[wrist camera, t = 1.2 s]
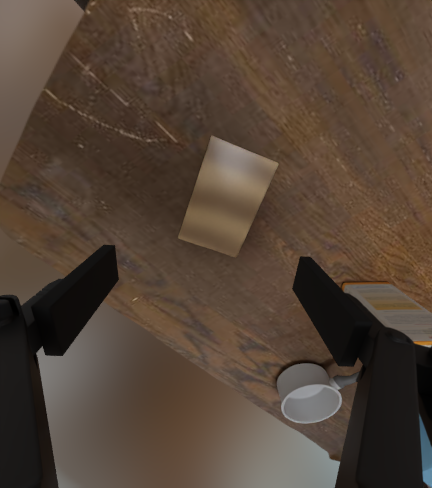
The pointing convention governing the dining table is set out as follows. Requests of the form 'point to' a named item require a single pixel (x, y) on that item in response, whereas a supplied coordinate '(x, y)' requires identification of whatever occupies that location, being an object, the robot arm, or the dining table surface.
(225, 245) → the brown wooden block
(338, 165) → the dining table surface
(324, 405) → the saucepan
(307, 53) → the dining table surface
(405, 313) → the supplement box
